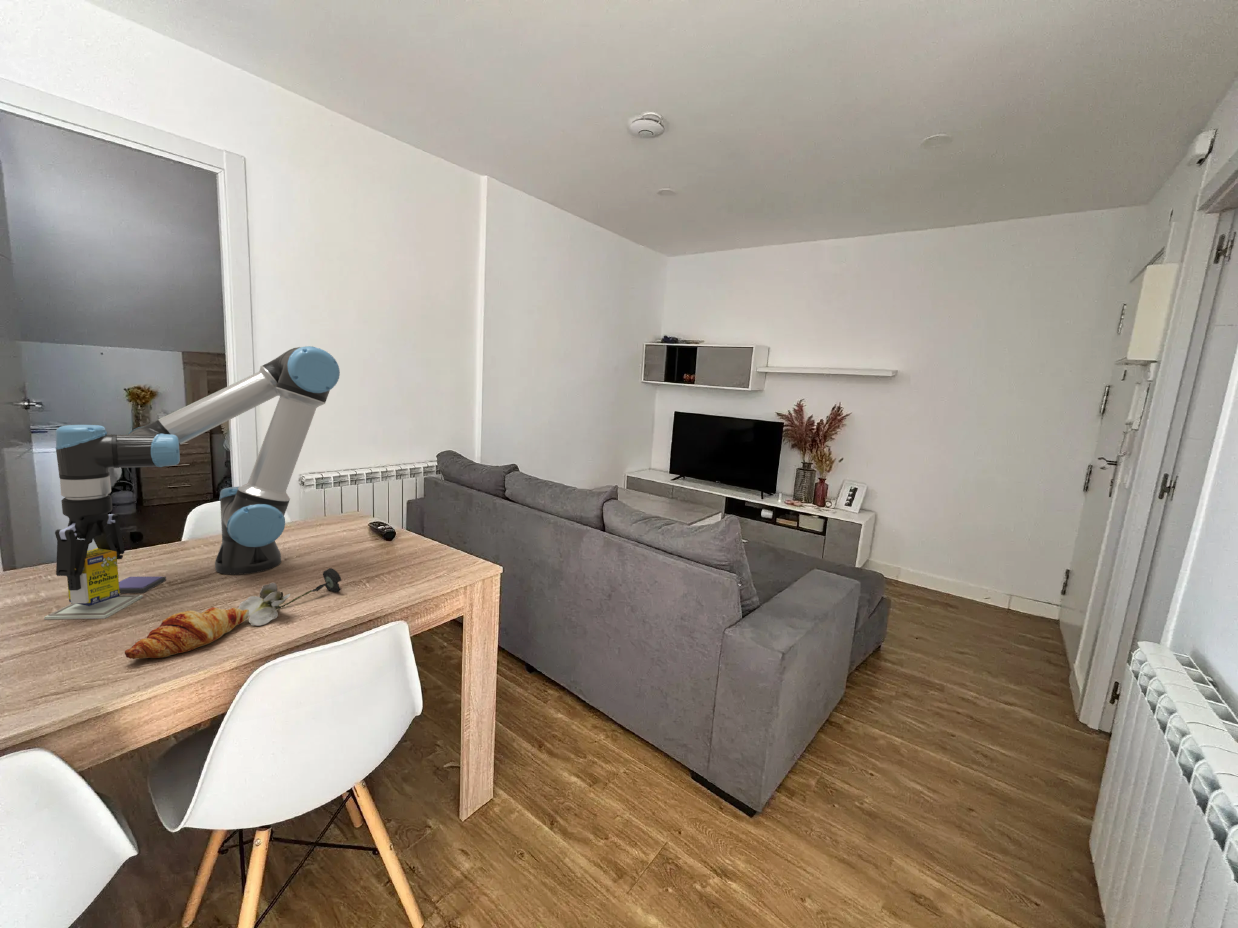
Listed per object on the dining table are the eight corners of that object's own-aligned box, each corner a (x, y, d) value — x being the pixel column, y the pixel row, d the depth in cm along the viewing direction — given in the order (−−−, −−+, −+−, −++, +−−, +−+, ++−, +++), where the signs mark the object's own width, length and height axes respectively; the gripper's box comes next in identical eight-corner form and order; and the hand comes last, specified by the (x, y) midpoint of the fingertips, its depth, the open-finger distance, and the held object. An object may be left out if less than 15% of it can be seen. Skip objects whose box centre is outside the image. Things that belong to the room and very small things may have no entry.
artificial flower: (348, 599, 129) (351, 567, 126) (253, 643, 110) (253, 606, 106) (327, 583, 132) (329, 551, 129) (230, 622, 113) (230, 586, 109)
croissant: (240, 629, 113) (229, 596, 113) (266, 621, 109) (255, 587, 109) (119, 677, 94) (106, 636, 94) (146, 668, 90) (132, 626, 90)
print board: (142, 597, 119) (142, 594, 119) (105, 618, 108) (105, 614, 108) (88, 597, 117) (87, 594, 117) (44, 619, 106) (44, 615, 106)
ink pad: (165, 580, 129) (165, 575, 129) (143, 592, 121) (142, 588, 121) (129, 580, 127) (129, 575, 127) (104, 593, 120) (103, 588, 119)
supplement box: (89, 606, 109) (85, 559, 107) (68, 602, 110) (63, 555, 108) (121, 596, 115) (117, 550, 113) (100, 592, 116) (96, 547, 114)
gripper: (104, 485, 118) (112, 577, 121) (20, 506, 98) (32, 615, 102) (141, 486, 119) (148, 577, 123) (65, 507, 100) (76, 614, 103)
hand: (95, 594), depth 112 cm, fingers closed on supplement box, 7 cm apart
